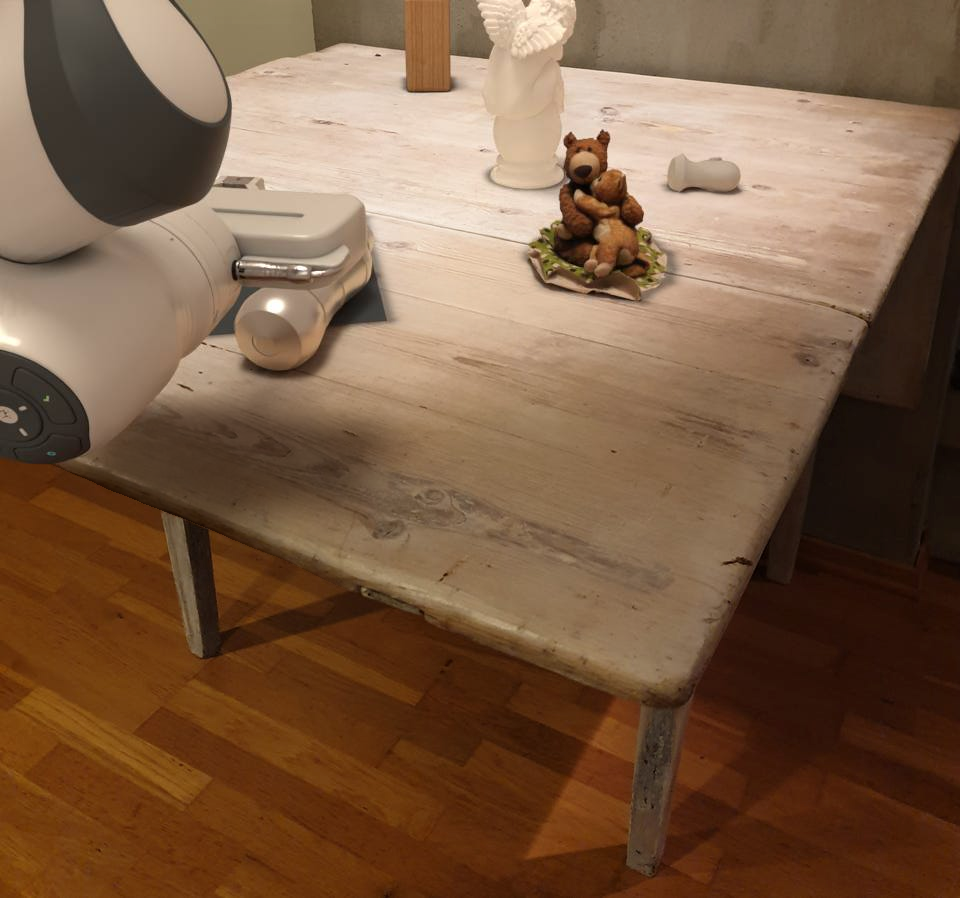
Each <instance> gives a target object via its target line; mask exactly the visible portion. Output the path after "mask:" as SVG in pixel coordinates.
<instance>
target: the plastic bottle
mask: <svg viewBox="0 0 960 898" xmlns="http://www.w3.org/2000/svg"><path fill="white" fill-rule="evenodd" d="M367 239H368V240H367V249H366V251H365V253H364V255H363V256H362V257H361V258H360V259H359V261H358V262H357V263H356V264H355V265H354V266H353V267H352V268H351V269H350V270H349V271H348V272H347V273H345V274H344V275H343V276H342V277H341V278H340V279H338V280H337V281H335V282H334V283H332V284H330V285H328V286H326V287H323V288H319V289H313V290H292V289H277V288H262V289H260V290H258V291H257V292H255V293H254V294H252V295H251V296H249V297H248V298H247V299H246V300H245V301H244V303H243V305H242V306H241V308H240V310H239V312H238V314H237V315H236V318H235V322H234V331H235V334H234V336H235V340H236V342H237V345H238V348H239V349H240V351H241V352H242V353H243V355H244V356H245V357H246V358H247V359H248V360H249V361H251V362H252V363H254V364H255V365H257V366H259V367H261V368H263V369H266V370H270V371H289V370H294V369H297V368H298V367H300V366H302V365H303V364H304V363H306V362H307V361H308V360H309V359H311V358H312V357H313V356H314V355H315V354H316V352H317V351H318V350H319V347H320V345H321V343H322V340H323V338H324V335H325V332H326V329H327V327H329V326H328V324H329V322H330V321H331V319H332V317H333V315H334V314H335V313H336V312H337V311H338V310H339V309H340V308H341V307H342V306H343V305H344V303H346V302H347V301H348V300H349V299H351V298H352V297H353V296H354V295H356V294H357V293H358V292H359V291H360V290H362V288H363V287H364V286H365V285H366V284H367V282H368V281H369V278H370V276H371V270H372V262H373V257H372V254H371V252H372V251H373V249H374V246H375V236H374V233H373V231H372V229H371V228H370V227H369V226H368V225H367Z"/></svg>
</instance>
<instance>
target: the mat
mask: <svg viewBox="0 0 960 898" xmlns="http://www.w3.org/2000/svg"><path fill="white" fill-rule="evenodd" d="M262 288H263V287H248V286H241V290H240V293H239V296H238V298H237V300H236V302H235V303H234V305H233V306H232V307H231V308H230V310H229V311H228V312H227V313H226V314H225V316H224V317H223V318H222V319H221V320H220V322H219V323H218V324H217V325H216V326H215V328H214V329H213V330H212V331H211V332H210V334H209V335H208V336H207V337H209V336H221V335H233V334H234V335H235V331H234V322H235V318H236V315H237V314H238V312H239V310H240V308H241V306H242V305H243V303H244V301H245V300H246V299H247V298H248V297H249V296H251V295H252V294H254V293H255V292H257V291H258V290H260V289H262ZM387 321H388V319H387V315H386V311H385V307H384V303H383V299H382V294H381V291H380V287H379V282H378V279H377V275H376V271H375V267H374V262H373V261H372V270H371V276H370V278H369V281H368V282H367V284H366V285H365V286H364V287H363V288H362V290H360V291H359V292H358V293H357V294H356V295H354V296H353V297H352V298H351V299H349V300H348V301H347V302H346V303H344V305H343V306H342V307H341V308H340V309H339V310H338V311H337V312H336V313H335V314H334V315H333V317H332V319H331V321H330V322H329V324H328V326H327V327H331V326H343V325H355V324H357V325H358V324H366V323H367V324H368V323H379V322H381V323H382V322H387Z"/></svg>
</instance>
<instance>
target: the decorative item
mask: <svg viewBox="0 0 960 898" xmlns="http://www.w3.org/2000/svg"><path fill="white" fill-rule="evenodd" d="M402 3H403V24H404V27H403V28H404V30H403V31H404V56H405V57H404V58H405V75H406V76H405V82H406V85H405V87H406V90H407V91H409V92H411V93H412V92H415V93H416V92H418V93H419V92H448V91H450V90H451V87H452V85H451V84H452V83H451V82H452V80H451V79H452V77H451V75H452V74H451V0H403V2H402Z"/></svg>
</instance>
